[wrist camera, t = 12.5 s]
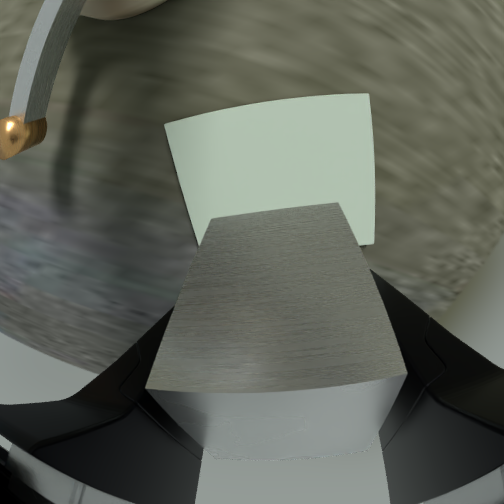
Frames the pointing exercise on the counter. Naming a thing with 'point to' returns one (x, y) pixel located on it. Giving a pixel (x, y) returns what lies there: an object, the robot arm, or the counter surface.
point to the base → (117, 8)
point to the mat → (278, 159)
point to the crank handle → (38, 76)
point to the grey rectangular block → (279, 340)
